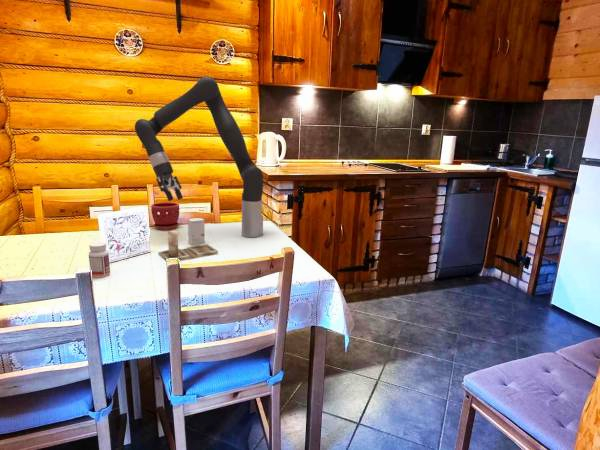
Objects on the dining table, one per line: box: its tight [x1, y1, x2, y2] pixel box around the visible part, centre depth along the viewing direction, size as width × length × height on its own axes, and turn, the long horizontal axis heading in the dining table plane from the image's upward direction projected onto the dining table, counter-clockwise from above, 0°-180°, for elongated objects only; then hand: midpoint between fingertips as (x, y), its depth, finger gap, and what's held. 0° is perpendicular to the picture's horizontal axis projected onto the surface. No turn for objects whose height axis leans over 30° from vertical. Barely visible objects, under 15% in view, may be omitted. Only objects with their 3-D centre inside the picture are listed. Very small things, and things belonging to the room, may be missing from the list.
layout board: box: [157, 243, 219, 262], centre depth 163 cm, size 21×13×2 cm, turn 127°
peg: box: [167, 229, 179, 258], centre depth 159 cm, size 4×4×10 cm
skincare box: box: [187, 217, 206, 246], centre depth 175 cm, size 6×4×12 cm
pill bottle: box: [88, 241, 111, 279], centre depth 141 cm, size 6×6×11 cm
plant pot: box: [150, 201, 180, 231], centre depth 201 cm, size 13×13×12 cm
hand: (176, 199), depth 175 cm, fingers open, 8 cm apart
